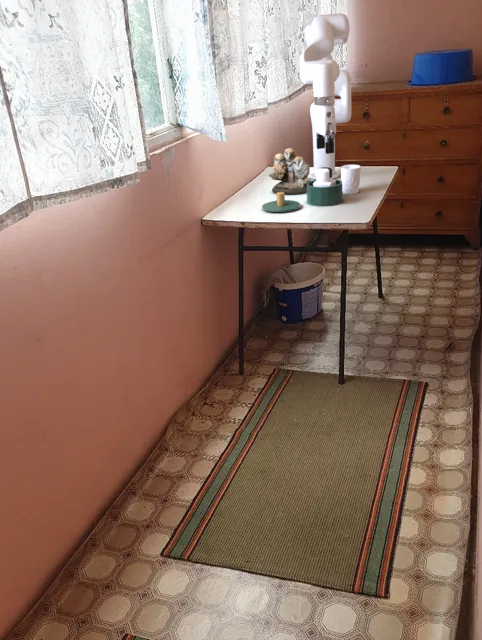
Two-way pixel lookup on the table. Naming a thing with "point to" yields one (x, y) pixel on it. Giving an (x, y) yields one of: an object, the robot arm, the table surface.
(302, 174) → the owl figurine
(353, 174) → the white cup
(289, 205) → the lid
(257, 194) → the table surface
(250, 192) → the table surface
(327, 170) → the medicine bottle
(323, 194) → the tin
